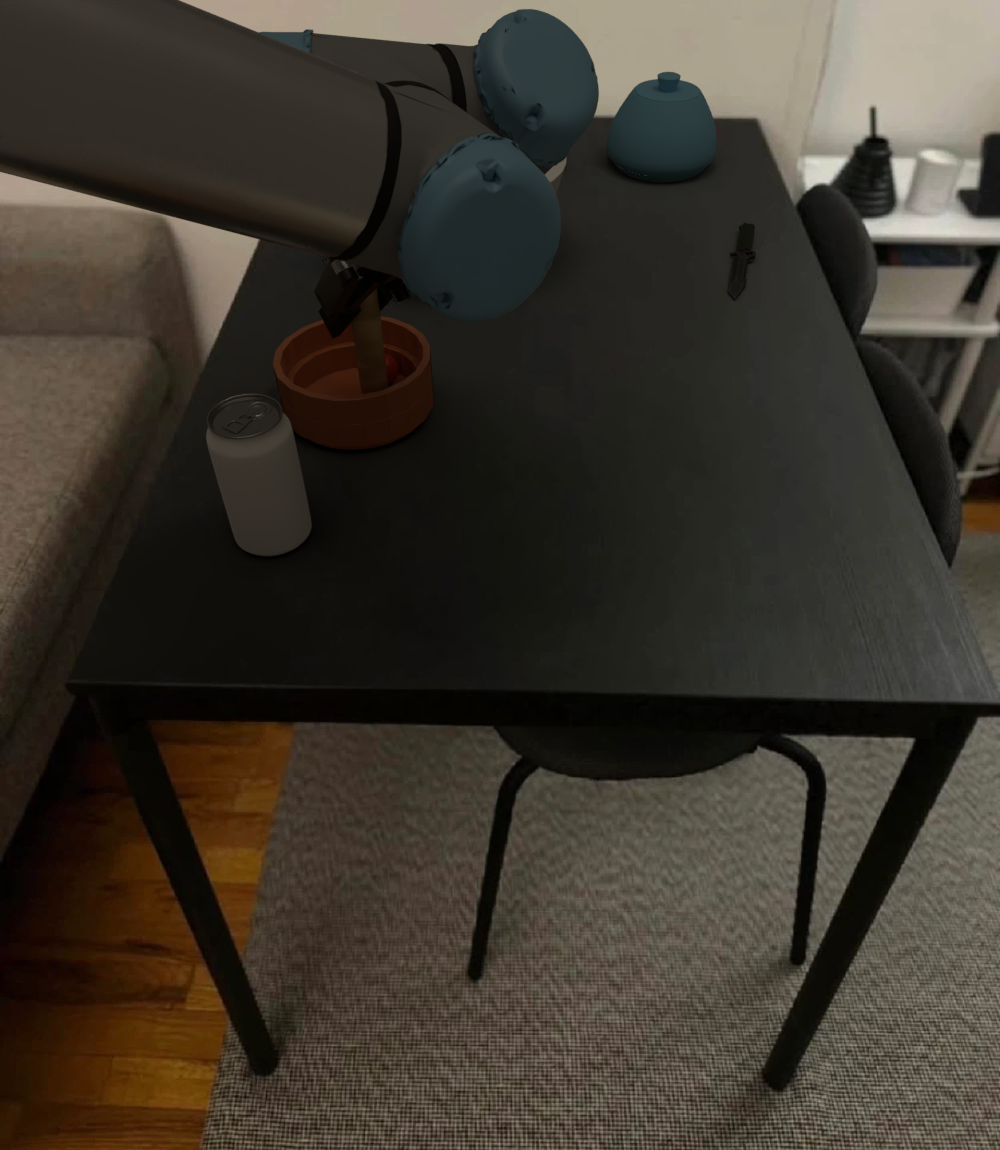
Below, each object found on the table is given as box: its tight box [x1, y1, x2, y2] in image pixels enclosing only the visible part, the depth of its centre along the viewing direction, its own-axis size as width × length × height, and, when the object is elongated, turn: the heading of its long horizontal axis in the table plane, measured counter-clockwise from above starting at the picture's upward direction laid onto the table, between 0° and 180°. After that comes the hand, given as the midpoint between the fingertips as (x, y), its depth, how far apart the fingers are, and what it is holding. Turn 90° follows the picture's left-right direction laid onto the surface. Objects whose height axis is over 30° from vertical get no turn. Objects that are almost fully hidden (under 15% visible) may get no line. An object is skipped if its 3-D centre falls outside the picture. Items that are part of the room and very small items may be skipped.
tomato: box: [385, 353, 399, 384], centre depth 91 cm, size 3×3×3 cm
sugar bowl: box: [606, 71, 718, 183], centre depth 127 cm, size 15×15×12 cm
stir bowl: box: [272, 315, 434, 451], centre depth 89 cm, size 14×14×6 cm
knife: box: [727, 222, 757, 300], centre depth 110 cm, size 18×1×3 cm
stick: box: [351, 289, 389, 395], centre depth 82 cm, size 3×3×18 cm
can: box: [205, 393, 313, 558], centre depth 74 cm, size 6×6×12 cm
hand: (344, 317), depth 86 cm, fingers closed on stick, 2 cm apart
